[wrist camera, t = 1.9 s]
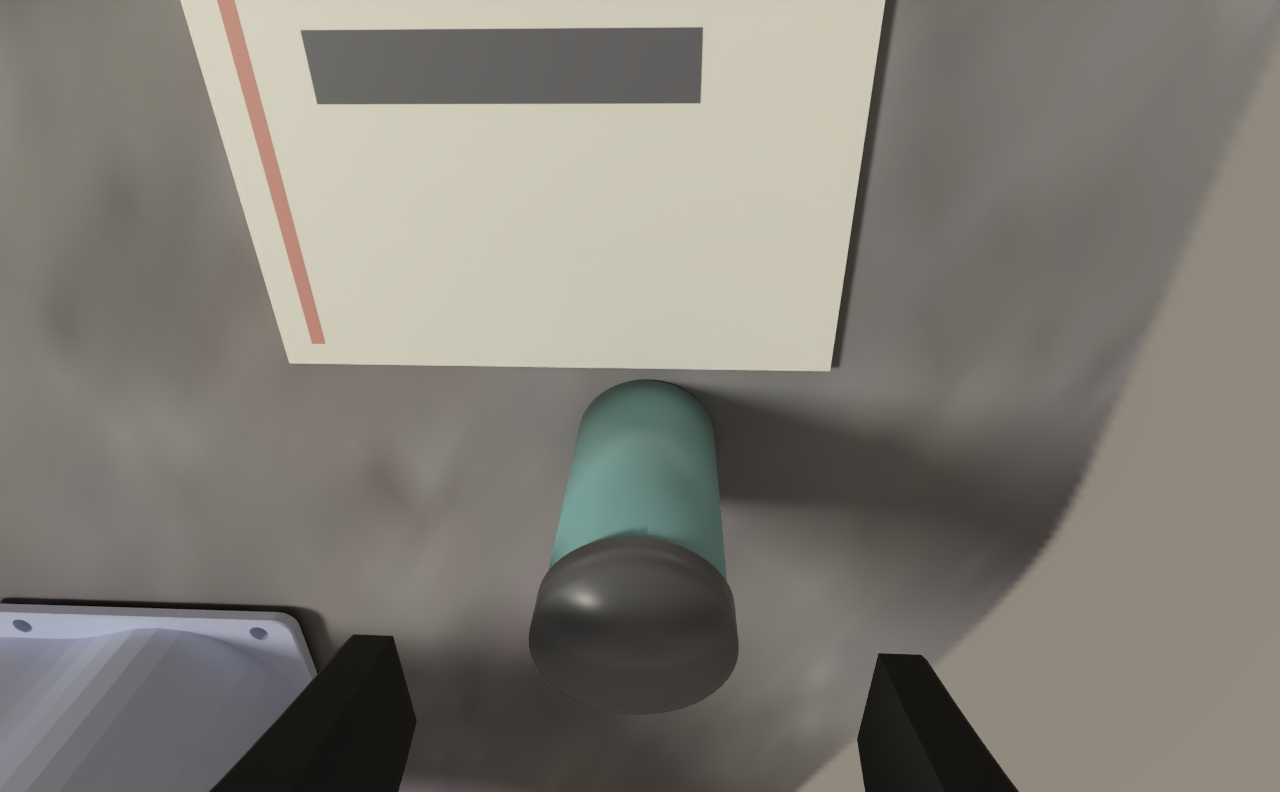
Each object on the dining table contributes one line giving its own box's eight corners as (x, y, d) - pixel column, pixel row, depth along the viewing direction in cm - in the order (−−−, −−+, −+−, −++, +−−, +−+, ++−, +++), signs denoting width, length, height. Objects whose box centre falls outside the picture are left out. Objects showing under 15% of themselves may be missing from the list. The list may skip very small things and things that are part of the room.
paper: (293, 359, 16) (289, 363, 15) (67, -410, 10) (55, -417, 9) (828, 366, 15) (830, 371, 15) (947, -442, 9) (952, -451, 9)
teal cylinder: (578, 493, 17) (538, 711, 12) (570, 375, 16) (518, 571, 10) (715, 496, 17) (732, 717, 12) (722, 376, 15) (745, 576, 10)
